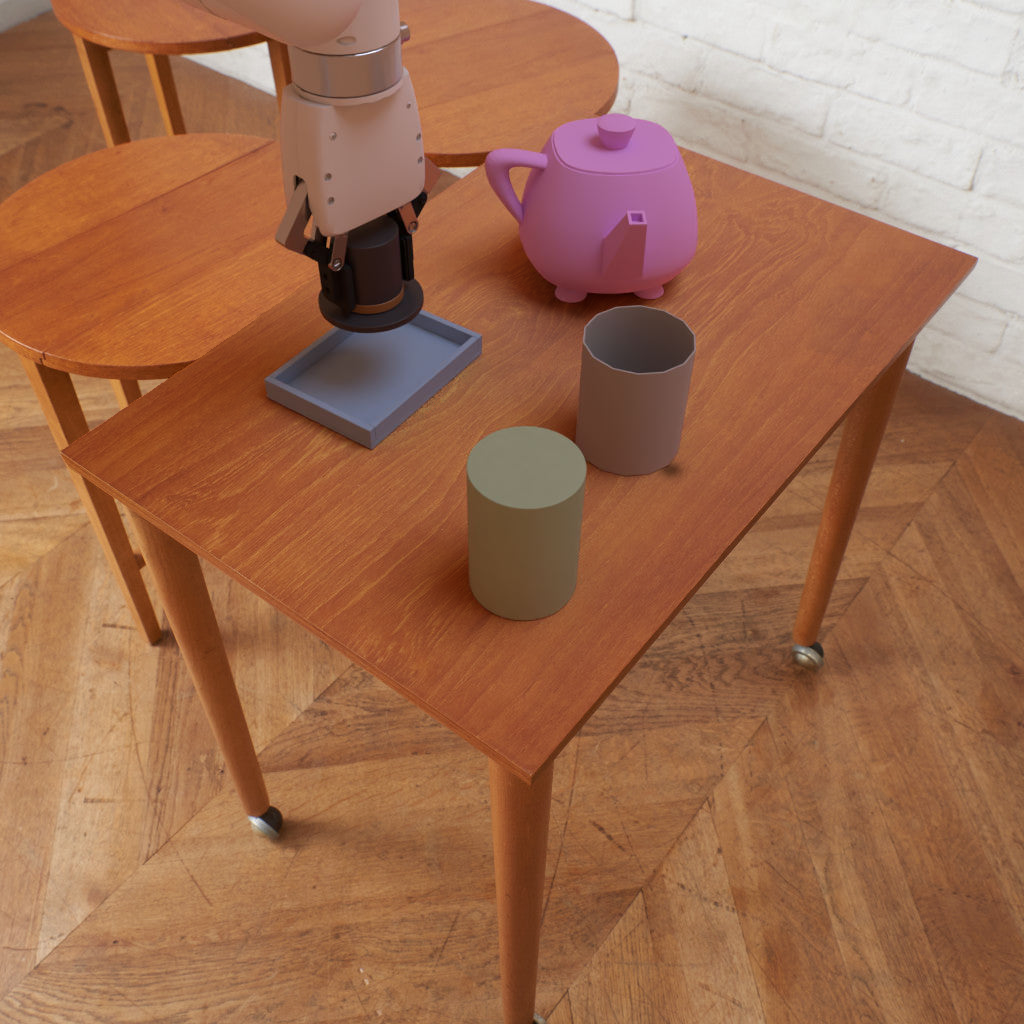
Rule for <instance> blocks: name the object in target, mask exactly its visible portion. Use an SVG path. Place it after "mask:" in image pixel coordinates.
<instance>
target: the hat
mask: <svg viewBox="0 0 1024 1024" xmlns="http://www.w3.org/2000/svg"><path fill="white" fill-rule="evenodd" d="M329 238H331V237H329ZM344 263H345V264H347V265H349V266H350V267H351V270H352V277H353V286H354V294H355V303H356V307H355V310H353V311H351V312H349V313H347V312H346V311H344V310H343V309H341V308H340V307H338V306H337V305H335V304H334V303H332V302H330V301H329V300H327V299H326V298H325V297H324V295H323V293H322V289H320V291H319V294H318V298H317V303H318V309H319V311H320V314H321V315H322V317H323V319H325V321H326V322H327V323H329V325H332V326H333V327H338V328H340V329H343V330H346V331H350V332H356V333H380V332H385V331H390V330H393V329H396V328H399V327H401V326H403V325H405V324H407V323H409V322H410V321H412V320H413V319H414V318H415V317H416V316H417V315H418V314H419V313H420V311H421V309H422V310H423V307H424V302H425V297H424V296H425V294H424V290H423V289H424V288H423V287H422V285H421V283H420V282H419V281H418V280H417V279H416V278H415V277H414V279H412V280H410V281H405V280H403V279H402V267H401V254H400V241H399V228H398V225H397V223H396V222H395V221H394V220H393V219H392V218H390V217H388V216H386V215H382V216H380V217H378V218H376V219H373V220H371V221H369V222H367V223H365V224H363V225H361V226H359V227H356V228H354V229H352V230H350V231H349V233H348V240H347V247H346V253H345V260H344Z"/></svg>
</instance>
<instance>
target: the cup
mask: <svg viewBox="0 0 1024 1024" xmlns="http://www.w3.org/2000/svg"><path fill="white" fill-rule="evenodd" d="M696 339H697V338H696V334H695V332H694V331H693V330H692V328H691V327H690V326H689V325H688V324H687V322H686V321H685V320H684V319H682V318H680V317H678V316H676V315H674V314H672V313H670V312H668V311H667V310H665V309H660V308H655V307H651V306H646V305H642V304H640V305H625V306H624V305H623V306H615V307H612V308H609V309H607V310H604V311H601V312H599V313H597V314H595V315H594V316H593V317H592V318H591V319H590V320H589V321H588V322H587V324H586V325H585V326H583V337H582V347H581V348H582V349H581V363H580V373H579V374H580V375H579V389H578V403H577V413H576V427H575V440H574V441H575V442H574V444H575V445H576V446H577V447H578V448H579V449H580V451H581V452H582V454H583V456H584V458H585V461H586V462H588V463H590V464H592V465H593V466H594V467H596V468H598V469H599V470H601V471H604V472H607V473H611V474H615V475H619V476H624V477H628V476H629V477H630V476H641V475H642V476H644V475H651V474H652V473H655V472H657V471H660V470H661V469H663V468H666V467H667V466H669V465H670V464H671V462H672V461H673V460H674V458H675V457H676V456H677V455H678V453H679V451H680V444H681V439H682V433H683V428H684V423H685V417H686V411H687V405H688V400H689V399H688V398H689V393H690V387H691V381H692V375H693V369H694V364H695V359H696V353H697V340H696Z"/></svg>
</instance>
